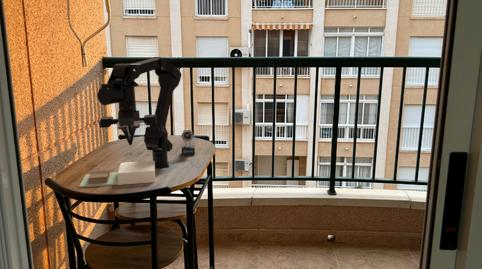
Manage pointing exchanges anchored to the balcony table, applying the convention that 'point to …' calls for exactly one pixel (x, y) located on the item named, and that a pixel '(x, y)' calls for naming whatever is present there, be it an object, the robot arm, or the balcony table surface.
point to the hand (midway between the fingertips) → (130, 145)
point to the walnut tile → (99, 176)
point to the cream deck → (136, 172)
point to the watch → (188, 143)
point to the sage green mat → (112, 181)
